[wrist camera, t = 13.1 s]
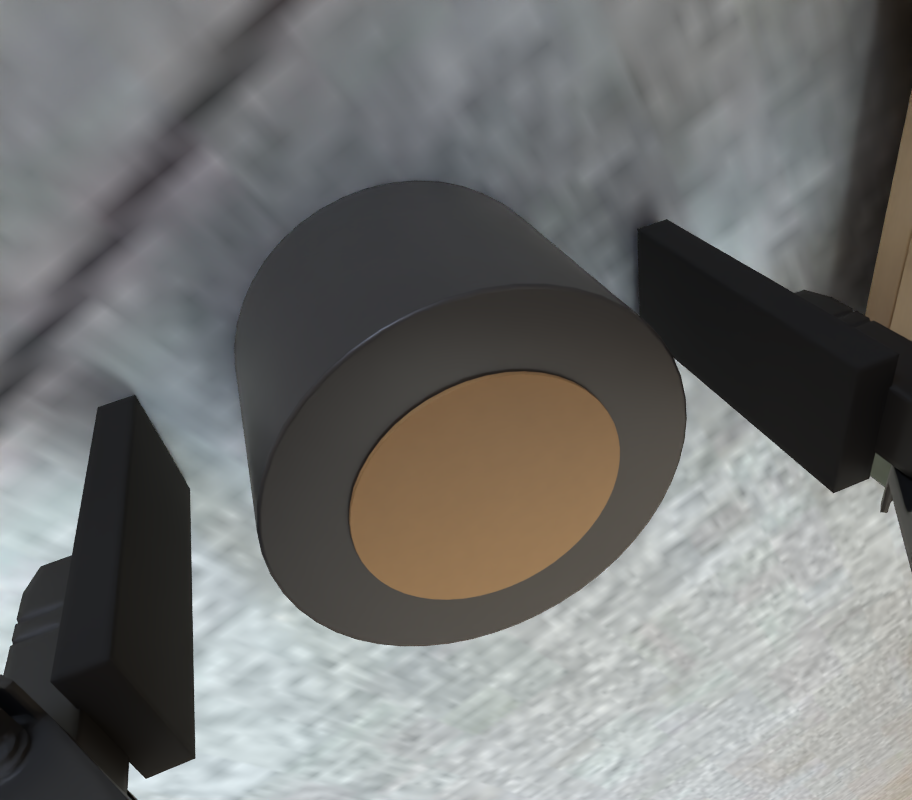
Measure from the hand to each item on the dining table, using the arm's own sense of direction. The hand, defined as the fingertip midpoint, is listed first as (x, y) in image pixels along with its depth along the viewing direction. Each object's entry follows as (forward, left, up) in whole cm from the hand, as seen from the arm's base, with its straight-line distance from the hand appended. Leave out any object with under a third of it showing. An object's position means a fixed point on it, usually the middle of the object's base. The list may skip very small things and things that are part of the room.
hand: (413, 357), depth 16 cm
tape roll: (0, 0, 0) cm, 0 cm away
